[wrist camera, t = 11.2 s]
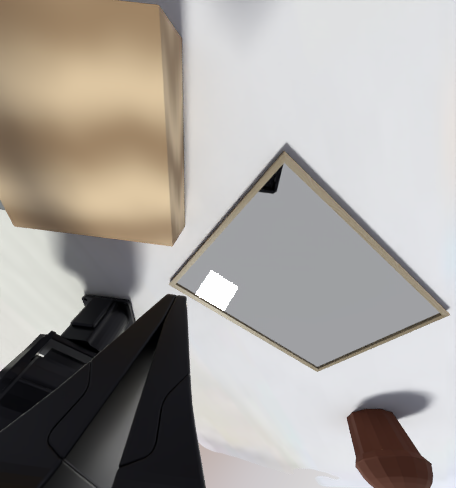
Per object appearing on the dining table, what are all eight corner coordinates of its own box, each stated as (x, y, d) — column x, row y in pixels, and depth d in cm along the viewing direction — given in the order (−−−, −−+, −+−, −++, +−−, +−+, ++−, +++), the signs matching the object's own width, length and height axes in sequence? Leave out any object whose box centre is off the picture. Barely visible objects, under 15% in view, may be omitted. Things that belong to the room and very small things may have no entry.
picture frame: (171, 279, 25) (315, 365, 32) (168, 284, 24) (317, 371, 31) (282, 150, 16) (442, 308, 24) (285, 151, 15) (450, 314, 23)
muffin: (347, 430, 44) (372, 504, 35) (332, 410, 39) (357, 489, 31) (407, 424, 40) (452, 505, 31) (399, 401, 35) (448, 488, 27)
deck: (184, 226, 20) (172, 246, 17) (53, 210, 20) (14, 226, 17) (181, 38, 13) (158, 5, 9) (-23, 15, 13) (-119, -26, 10)
